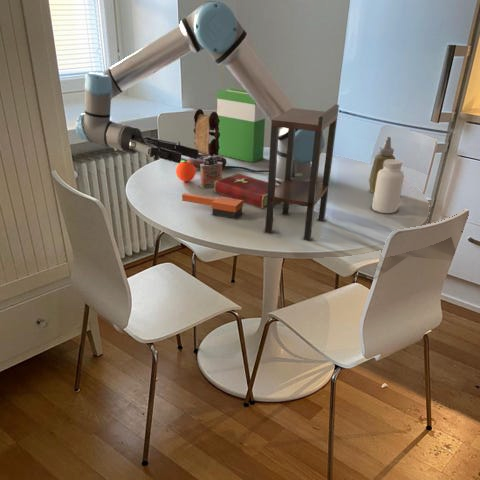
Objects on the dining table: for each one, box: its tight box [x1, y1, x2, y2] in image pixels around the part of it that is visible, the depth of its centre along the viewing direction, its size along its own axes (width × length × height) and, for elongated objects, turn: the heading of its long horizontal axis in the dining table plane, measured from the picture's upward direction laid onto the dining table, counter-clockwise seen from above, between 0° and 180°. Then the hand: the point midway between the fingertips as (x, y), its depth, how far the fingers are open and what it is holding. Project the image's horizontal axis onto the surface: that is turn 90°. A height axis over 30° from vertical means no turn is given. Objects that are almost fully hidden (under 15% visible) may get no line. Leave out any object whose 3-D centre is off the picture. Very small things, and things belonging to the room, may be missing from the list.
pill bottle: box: [371, 158, 405, 214], centre depth 158 cm, size 8×8×15 cm
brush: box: [181, 192, 244, 220], centre depth 157 cm, size 19×6×4 cm, turn 68°
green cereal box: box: [216, 87, 266, 163], centre depth 202 cm, size 18×7×24 cm, turn 55°
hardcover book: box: [213, 173, 280, 209], centre depth 169 cm, size 12×21×4 cm, turn 49°
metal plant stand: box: [264, 104, 340, 241], centre depth 141 cm, size 13×17×32 cm
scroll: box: [187, 108, 227, 169], centre depth 190 cm, size 15×15×20 cm
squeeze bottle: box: [368, 136, 396, 194], centre depth 171 cm, size 8×8×18 cm
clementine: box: [175, 160, 196, 182], centre depth 179 cm, size 8×7×7 cm
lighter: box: [200, 155, 223, 189], centre depth 175 cm, size 8×3×10 cm, turn 117°
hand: (189, 156), depth 153 cm, fingers open, 13 cm apart
